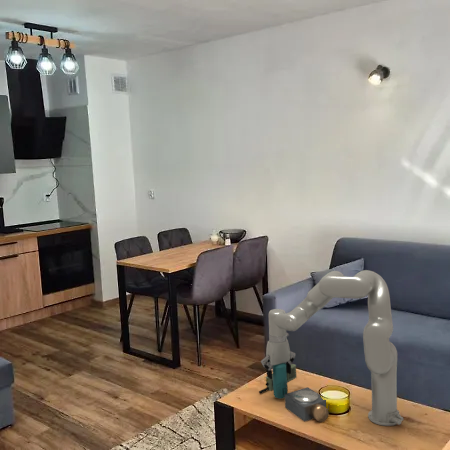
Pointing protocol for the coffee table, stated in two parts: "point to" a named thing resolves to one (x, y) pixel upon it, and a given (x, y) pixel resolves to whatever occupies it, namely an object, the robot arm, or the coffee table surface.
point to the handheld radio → (270, 381)
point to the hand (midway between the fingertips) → (279, 375)
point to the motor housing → (306, 405)
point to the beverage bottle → (280, 380)
